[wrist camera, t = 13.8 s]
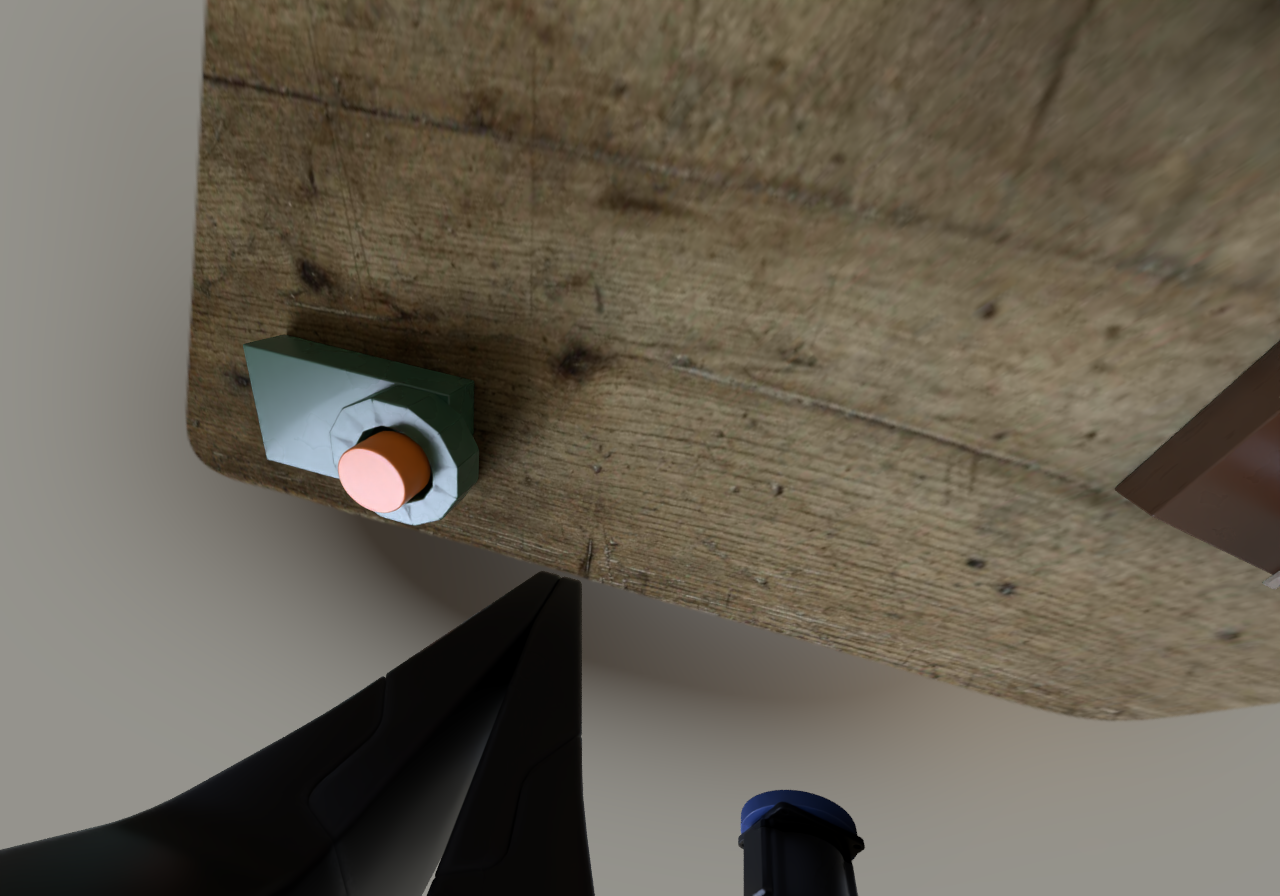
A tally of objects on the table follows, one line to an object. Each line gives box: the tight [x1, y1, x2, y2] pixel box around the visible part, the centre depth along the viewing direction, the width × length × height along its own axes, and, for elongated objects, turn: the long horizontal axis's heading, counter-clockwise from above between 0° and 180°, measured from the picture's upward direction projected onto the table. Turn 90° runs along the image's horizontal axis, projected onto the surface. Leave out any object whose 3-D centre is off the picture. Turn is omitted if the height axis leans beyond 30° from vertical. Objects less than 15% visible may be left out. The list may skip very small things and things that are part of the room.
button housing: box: [243, 335, 479, 526], centre depth 22 cm, size 11×6×4 cm, turn 80°
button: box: [338, 431, 431, 513], centre depth 20 cm, size 3×3×2 cm
